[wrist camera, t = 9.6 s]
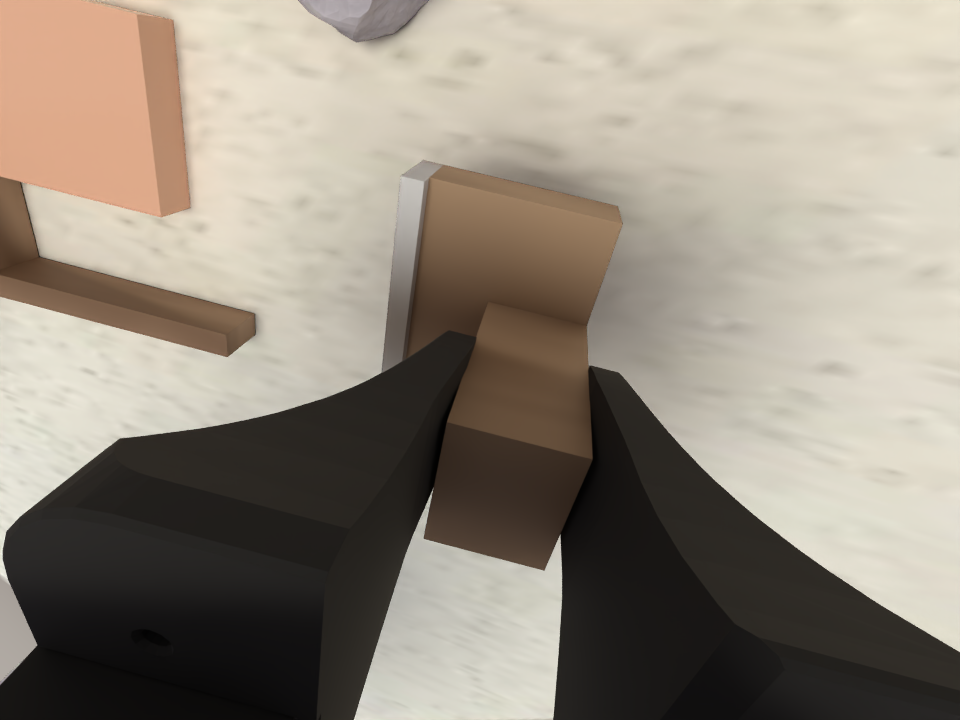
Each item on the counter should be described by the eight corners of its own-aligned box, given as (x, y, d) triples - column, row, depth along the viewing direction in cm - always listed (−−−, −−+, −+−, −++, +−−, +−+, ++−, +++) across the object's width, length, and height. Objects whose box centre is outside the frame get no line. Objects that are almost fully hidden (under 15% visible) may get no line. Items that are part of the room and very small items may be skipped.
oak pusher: (533, 452, 16) (515, 638, 11) (392, 416, 16) (309, 582, 11) (617, 206, 12) (651, 325, 7) (423, 160, 12) (309, 240, 7)
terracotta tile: (197, 205, 19) (160, 217, 17) (50, 168, 19) (0, 176, 18) (182, 21, 16) (136, 14, 14) (8, -21, 16) (-57, -33, 15)
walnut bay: (255, 334, 21) (227, 357, 19) (22, 273, 21) (-25, 289, 20) (241, -192, 13) (192, -233, 11) (-130, -278, 13) (-234, -332, 12)
